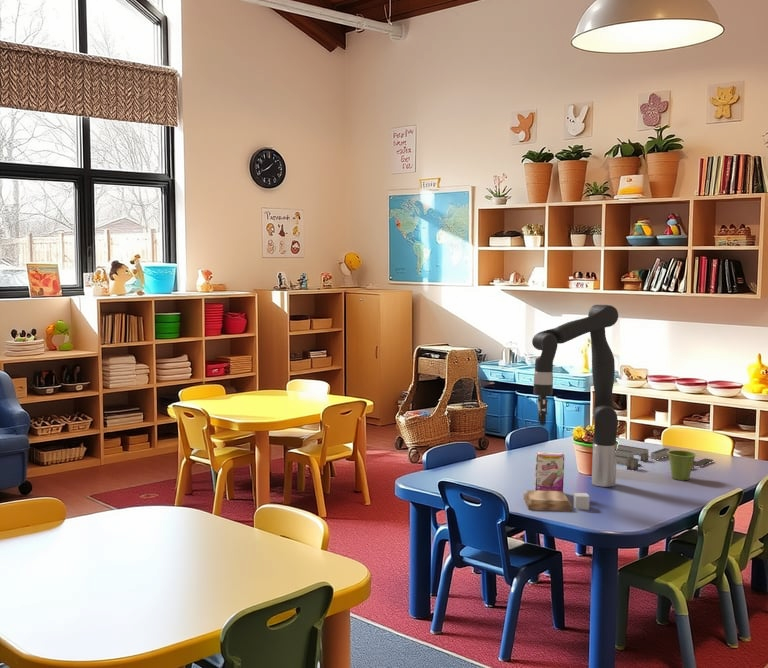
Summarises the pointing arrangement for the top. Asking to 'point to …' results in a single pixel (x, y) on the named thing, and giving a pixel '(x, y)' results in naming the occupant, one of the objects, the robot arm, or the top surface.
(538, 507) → the plinth
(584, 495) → the grey cube
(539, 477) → the candy bar box
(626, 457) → the building set
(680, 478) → the plant pot
